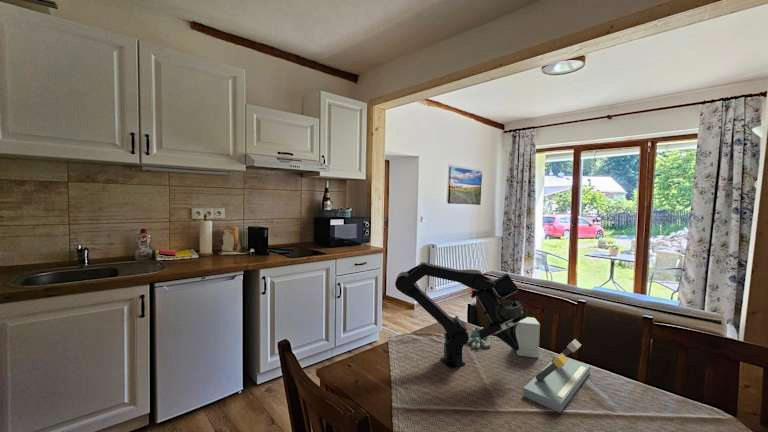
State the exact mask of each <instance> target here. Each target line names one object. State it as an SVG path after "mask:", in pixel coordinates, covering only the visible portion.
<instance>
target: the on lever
mask: <svg viewBox="0 0 768 432" xmlns="http://www.w3.org/2000/svg"><path fill="white" fill-rule="evenodd" d="M581 346H582V344H581V343H580V342H579V341H578V340H577V339H576V338H574V339H573V340H572V341H571V342H569V343H568V345H566V348H565V349H564V350H562V352H561V353H563V354H564V355H565V357H566V358H568V356H569V355H570V354H571V353H576V352H577V350H578V349H579V348H581ZM559 355H560V354H558V356H559ZM556 356H557V355H556ZM556 356H555V357H554V358H553V359H552V360H551V361H553V360H554V359H555V358H556ZM558 356H557V357H558ZM552 363H553V362H552Z"/></svg>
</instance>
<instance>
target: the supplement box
mask: <svg viewBox="0 0 768 432" xmlns="http://www.w3.org/2000/svg"><path fill="white" fill-rule="evenodd" d="M526 317H527V318H525V319H523V320H521V321H519V322H517V323H518V325H517V327H516V337H517V341H518V345H519V350H517V351H515V352H516V354H517V356H519V357H520V356H521V357H528V358H529V357H530V358H539V352H540V351H539V349H540V330H541V329H540V328H541V324H540V322H539V321H538V320H537V319H536V318H535V317H531V316H526ZM517 323H515V324H517Z"/></svg>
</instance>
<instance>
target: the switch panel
mask: <svg viewBox="0 0 768 432" xmlns="http://www.w3.org/2000/svg"><path fill="white" fill-rule="evenodd" d="M558 355H559V354H558ZM558 355H556V356H555V357H557V356H558ZM566 358H567V359H568V362H567V363H566V364H565V365H563V366H562V367H561V368H560V369H559V368H557V369H555V370H554V371H553V372H552V373H550V374H549V375H548V376H547V377H546V378H545V379H544V380H543V381H541V382H539V381H538V380H537V379H536V375H535V376H534V377H533V378H532V379H531V380H530V381H529V382H528V383H527V384H526V385H525V386H524V387H523V392H522V393H523V394H522V395H523V397H525V398H526V399H528V400H531V401H533V402H536V403H538V404H540V405H542V406H545V407H547V408H548V409H551V410H554V411H555V412H556V413H562V411H563V410H564V409H565V407H566V406H567V404H568V403H569V402H570V400H572V398H573V396H574V395H575V393H576V392H577V391H578V390H579V388H580V387H581V385H582V384H583V383H584V382H585V380H586V379H587V377H588V376H589V374H590V373H591V365H589V364H585V363H583V362H579V361H577V360H574V359H571V358H568V357H566ZM550 364H552V360H551V361H550V362H549V363H548V364H547V365H546V366H545V367H544V368H543V369H542V370H541V371H543V370H544V369H545V368H547V367H548V366H549V365H550Z"/></svg>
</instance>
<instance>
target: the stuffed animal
mask: <svg viewBox="0 0 768 432" xmlns="http://www.w3.org/2000/svg"><path fill="white" fill-rule="evenodd" d="M482 328H484V327H482V326H481V327H480V326H474V327H473V328H472V329H471V332H470V333H468V335H469V340H468V342H467V343H466V344H468V345H471V347H472V348H476V349H480V347H483V348H489V347H490V346H491V345H492V344H493V341H492V339H491V338H490V335H489V336H488V337H485V338H483V339H481V337H480V335H479V330H480V329H482Z"/></svg>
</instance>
